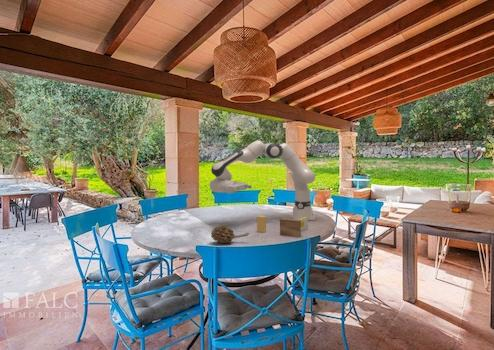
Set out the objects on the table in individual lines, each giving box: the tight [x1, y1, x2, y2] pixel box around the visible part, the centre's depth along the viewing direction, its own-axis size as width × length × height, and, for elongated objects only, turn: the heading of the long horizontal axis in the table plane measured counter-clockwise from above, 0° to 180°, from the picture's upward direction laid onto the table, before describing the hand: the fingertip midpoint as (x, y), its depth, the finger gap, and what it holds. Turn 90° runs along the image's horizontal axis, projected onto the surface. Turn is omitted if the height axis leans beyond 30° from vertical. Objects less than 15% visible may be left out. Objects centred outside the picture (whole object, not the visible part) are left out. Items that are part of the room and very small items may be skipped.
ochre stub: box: [256, 215, 267, 233], centre depth 184 cm, size 3×5×10 cm, turn 63°
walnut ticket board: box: [279, 217, 302, 238], centre depth 175 cm, size 4×12×10 cm, turn 63°
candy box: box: [299, 217, 309, 233], centre depth 184 cm, size 16×2×8 cm, turn 141°
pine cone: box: [210, 225, 250, 244], centre depth 162 cm, size 22×10×10 cm, turn 96°
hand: (248, 187), depth 191 cm, fingers open, 8 cm apart
